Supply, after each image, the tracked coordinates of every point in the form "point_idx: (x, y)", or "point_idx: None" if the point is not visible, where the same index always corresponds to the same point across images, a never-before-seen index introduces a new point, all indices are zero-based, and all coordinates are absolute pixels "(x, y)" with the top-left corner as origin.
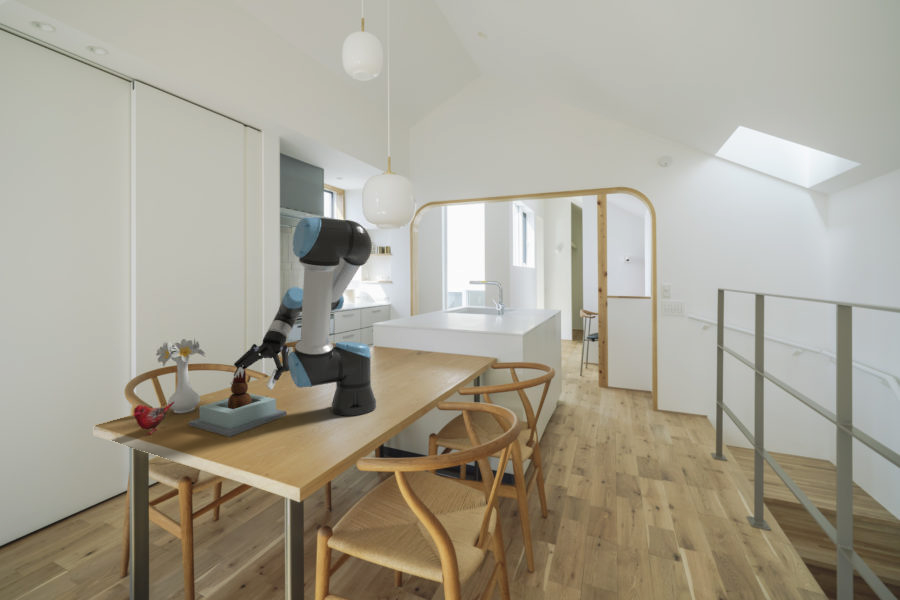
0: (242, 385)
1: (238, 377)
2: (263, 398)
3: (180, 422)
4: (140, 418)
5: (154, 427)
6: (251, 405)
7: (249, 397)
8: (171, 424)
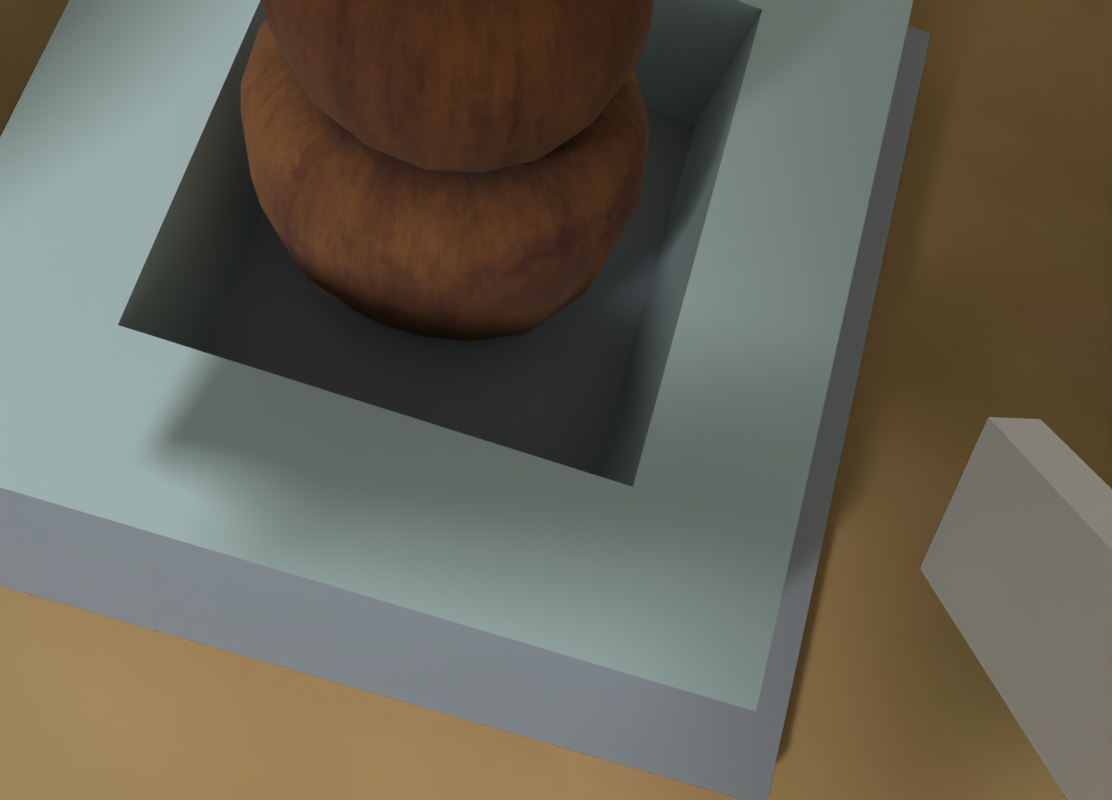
0: None
1: (1098, 669)
2: (143, 423)
3: (1061, 127)
4: None
5: None
6: (131, 29)
7: (245, 112)
8: (1095, 70)
